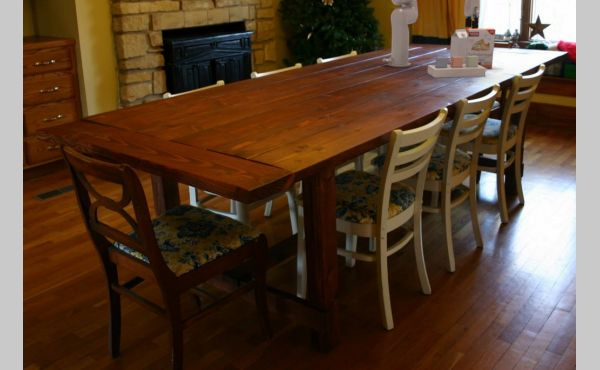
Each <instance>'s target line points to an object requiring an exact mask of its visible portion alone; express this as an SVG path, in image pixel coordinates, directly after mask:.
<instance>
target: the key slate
mask: <svg viewBox="0 0 600 370" xmlns="http://www.w3.org/2000/svg"><path fill="white" fill-rule="evenodd" d="M448 59H449V58H448V57H447V56H435V63H434V65H435V67H437V68H447V65H448Z"/></svg>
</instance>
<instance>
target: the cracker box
mask: <svg viewBox="0 0 600 370" xmlns="http://www.w3.org/2000/svg"><path fill="white" fill-rule="evenodd" d="M466 32H467V44H466V56H477V57H479V58H478V65H480V66H482V67H484V68H486V70H488V69H492V68H493V60H494V49H495V39H496V29H495V28H484V27H483V28H482V27H481V28H480V27H478V29H472V27H467V31H466ZM465 64H466V57H465Z"/></svg>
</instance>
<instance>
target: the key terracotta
mask: <svg viewBox="0 0 600 370" xmlns="http://www.w3.org/2000/svg"><path fill="white" fill-rule="evenodd" d="M449 65H450V66H451V67H453V68H458V67H463V57H461V56H451V63H450V64H449Z"/></svg>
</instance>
